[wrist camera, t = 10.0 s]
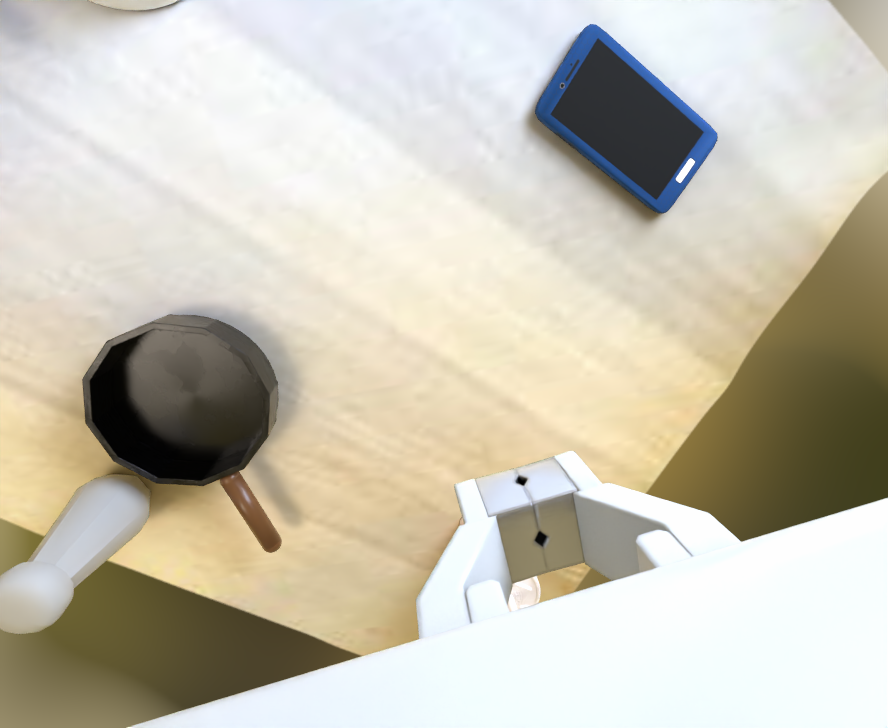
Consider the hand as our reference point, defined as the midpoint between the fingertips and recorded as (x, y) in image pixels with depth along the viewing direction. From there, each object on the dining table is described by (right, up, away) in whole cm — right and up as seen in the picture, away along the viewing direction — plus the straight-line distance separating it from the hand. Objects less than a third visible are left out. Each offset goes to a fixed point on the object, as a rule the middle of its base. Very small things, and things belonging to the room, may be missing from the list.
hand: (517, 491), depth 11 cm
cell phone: (+13, +22, +26) cm, 36 cm away
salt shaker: (-29, -8, +29) cm, 42 cm away
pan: (-21, -3, +29) cm, 36 cm away
